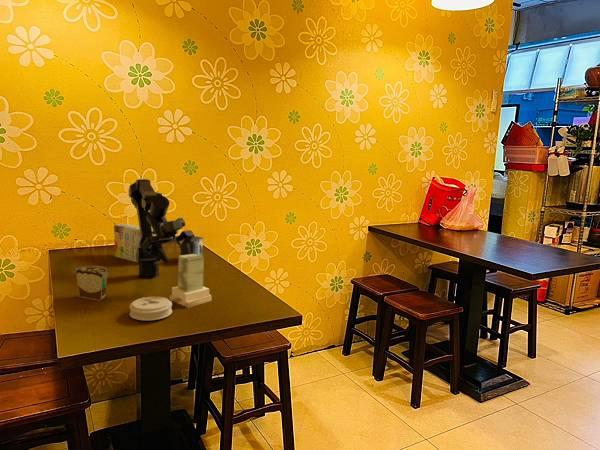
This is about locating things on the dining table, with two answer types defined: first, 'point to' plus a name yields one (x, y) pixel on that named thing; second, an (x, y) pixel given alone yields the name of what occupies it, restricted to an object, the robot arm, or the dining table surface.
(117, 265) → the dining table surface
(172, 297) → the tower base slab
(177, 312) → the dining table surface
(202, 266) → the pillar block
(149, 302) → the lid
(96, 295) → the food container
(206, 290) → the tower top slab
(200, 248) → the small box
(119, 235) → the snack box
